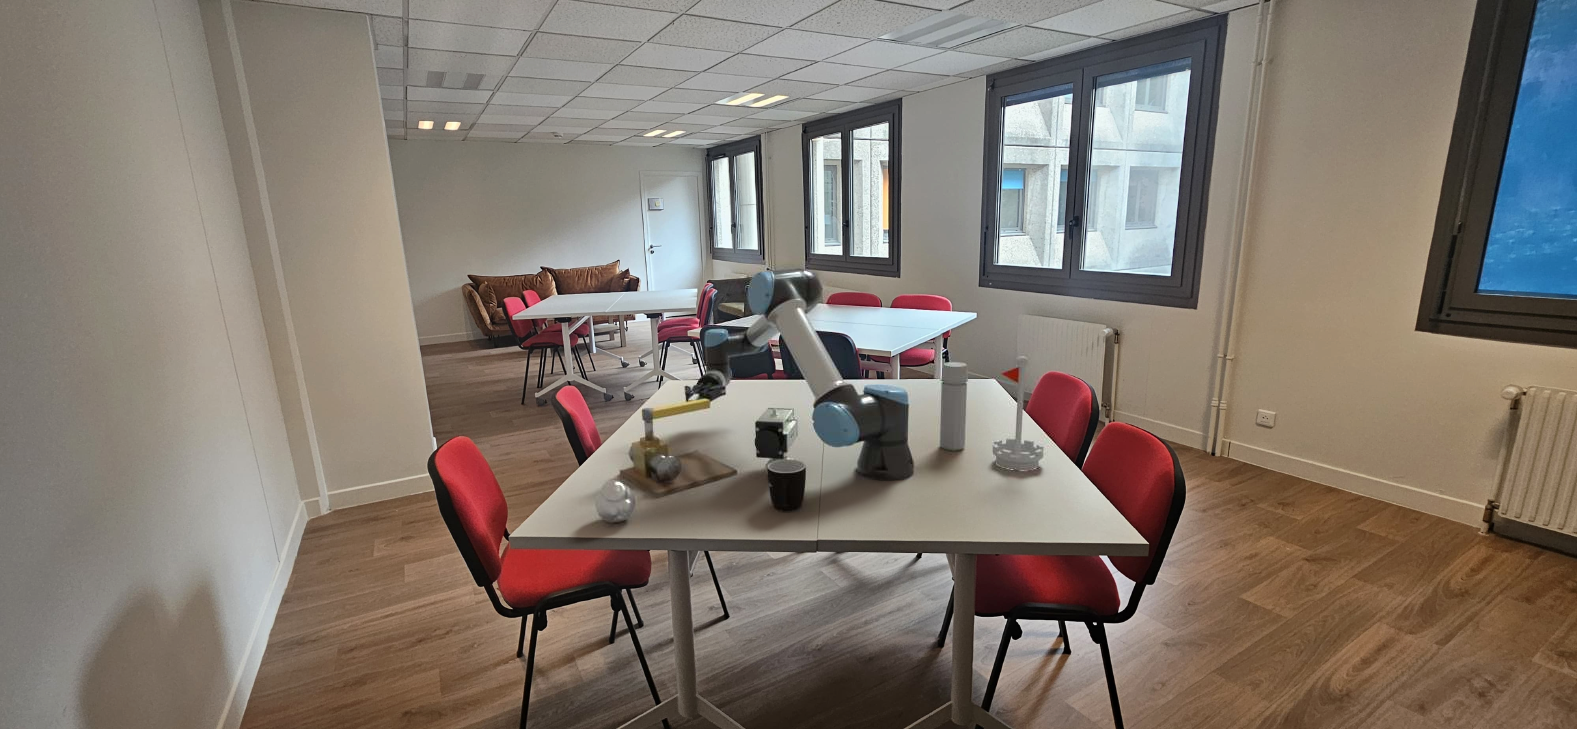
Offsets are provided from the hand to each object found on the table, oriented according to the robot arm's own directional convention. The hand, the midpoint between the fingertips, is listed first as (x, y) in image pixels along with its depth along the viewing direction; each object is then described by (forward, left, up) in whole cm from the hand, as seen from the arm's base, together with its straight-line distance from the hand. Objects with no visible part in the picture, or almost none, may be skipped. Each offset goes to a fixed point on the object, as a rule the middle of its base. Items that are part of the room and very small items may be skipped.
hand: (690, 404), depth 184 cm
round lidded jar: (-29, +27, -17) cm, 43 cm away
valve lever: (-3, +5, -1) cm, 6 cm away
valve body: (-7, +13, -16) cm, 21 cm away
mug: (-41, -10, -17) cm, 45 cm away
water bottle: (-24, -72, -17) cm, 78 cm away
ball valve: (-19, -18, -17) cm, 31 cm away
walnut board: (-7, +6, -17) cm, 19 cm away
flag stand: (-44, -78, -17) cm, 91 cm away
